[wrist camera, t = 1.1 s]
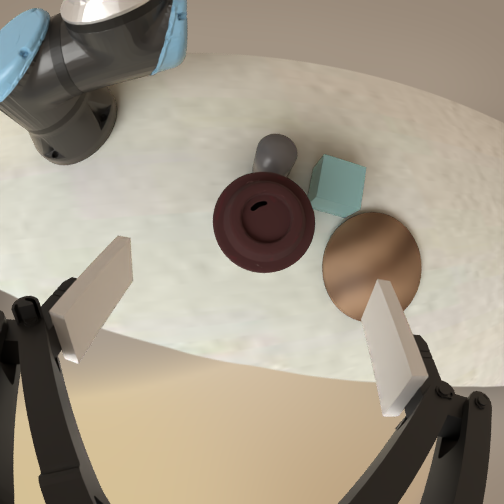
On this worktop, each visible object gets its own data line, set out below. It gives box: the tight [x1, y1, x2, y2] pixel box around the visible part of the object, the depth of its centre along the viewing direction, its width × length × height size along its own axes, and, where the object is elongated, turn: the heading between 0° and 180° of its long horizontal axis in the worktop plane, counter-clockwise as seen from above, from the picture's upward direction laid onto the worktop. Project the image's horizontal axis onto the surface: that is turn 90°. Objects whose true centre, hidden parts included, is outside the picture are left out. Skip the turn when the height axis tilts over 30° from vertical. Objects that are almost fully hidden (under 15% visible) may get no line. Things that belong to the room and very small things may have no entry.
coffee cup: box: [213, 172, 315, 273], centre depth 37 cm, size 10×10×15 cm
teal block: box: [308, 154, 366, 218], centre depth 42 cm, size 6×6×6 cm
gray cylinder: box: [253, 134, 297, 177], centre depth 42 cm, size 5×5×7 cm
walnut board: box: [322, 212, 421, 322], centre depth 44 cm, size 16×16×1 cm
